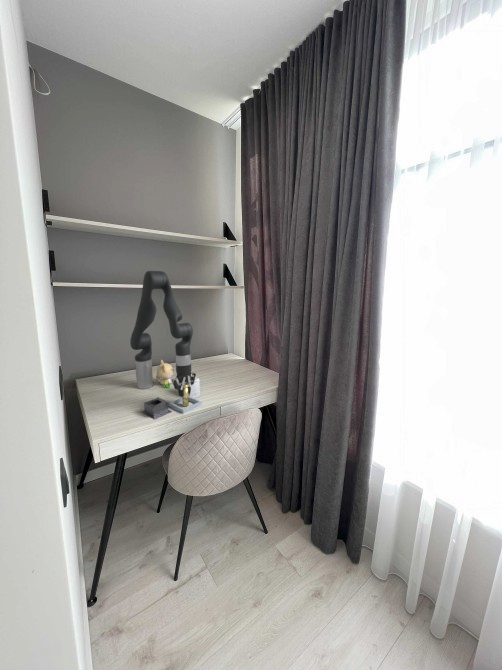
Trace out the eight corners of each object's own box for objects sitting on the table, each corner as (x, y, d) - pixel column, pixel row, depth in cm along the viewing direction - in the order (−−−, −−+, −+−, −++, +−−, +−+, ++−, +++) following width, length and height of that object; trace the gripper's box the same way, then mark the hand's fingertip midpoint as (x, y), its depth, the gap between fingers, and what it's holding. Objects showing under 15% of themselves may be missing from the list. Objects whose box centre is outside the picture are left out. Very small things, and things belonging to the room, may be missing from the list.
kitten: (176, 387, 167) (175, 363, 163) (159, 390, 162) (158, 366, 159) (171, 379, 180) (170, 357, 176) (156, 381, 175) (154, 359, 172)
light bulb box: (180, 394, 156) (179, 376, 154) (190, 391, 161) (189, 373, 159) (190, 400, 149) (189, 381, 146) (200, 396, 153) (199, 378, 151)
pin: (179, 404, 140) (178, 384, 137) (186, 401, 143) (185, 382, 140) (185, 407, 137) (183, 386, 135) (191, 404, 140) (190, 384, 138)
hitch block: (140, 413, 134) (139, 402, 133) (158, 406, 141) (158, 395, 140) (154, 421, 126) (153, 409, 125) (172, 413, 134) (171, 402, 133)
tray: (169, 408, 139) (169, 403, 139) (187, 400, 148) (187, 395, 148) (183, 415, 132) (183, 409, 132) (201, 406, 141) (201, 401, 140)
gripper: (190, 358, 143) (191, 388, 147) (166, 364, 132) (168, 397, 136) (199, 361, 138) (200, 392, 142) (176, 368, 128) (178, 401, 131)
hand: (185, 394), depth 139 cm, fingers open, 4 cm apart
